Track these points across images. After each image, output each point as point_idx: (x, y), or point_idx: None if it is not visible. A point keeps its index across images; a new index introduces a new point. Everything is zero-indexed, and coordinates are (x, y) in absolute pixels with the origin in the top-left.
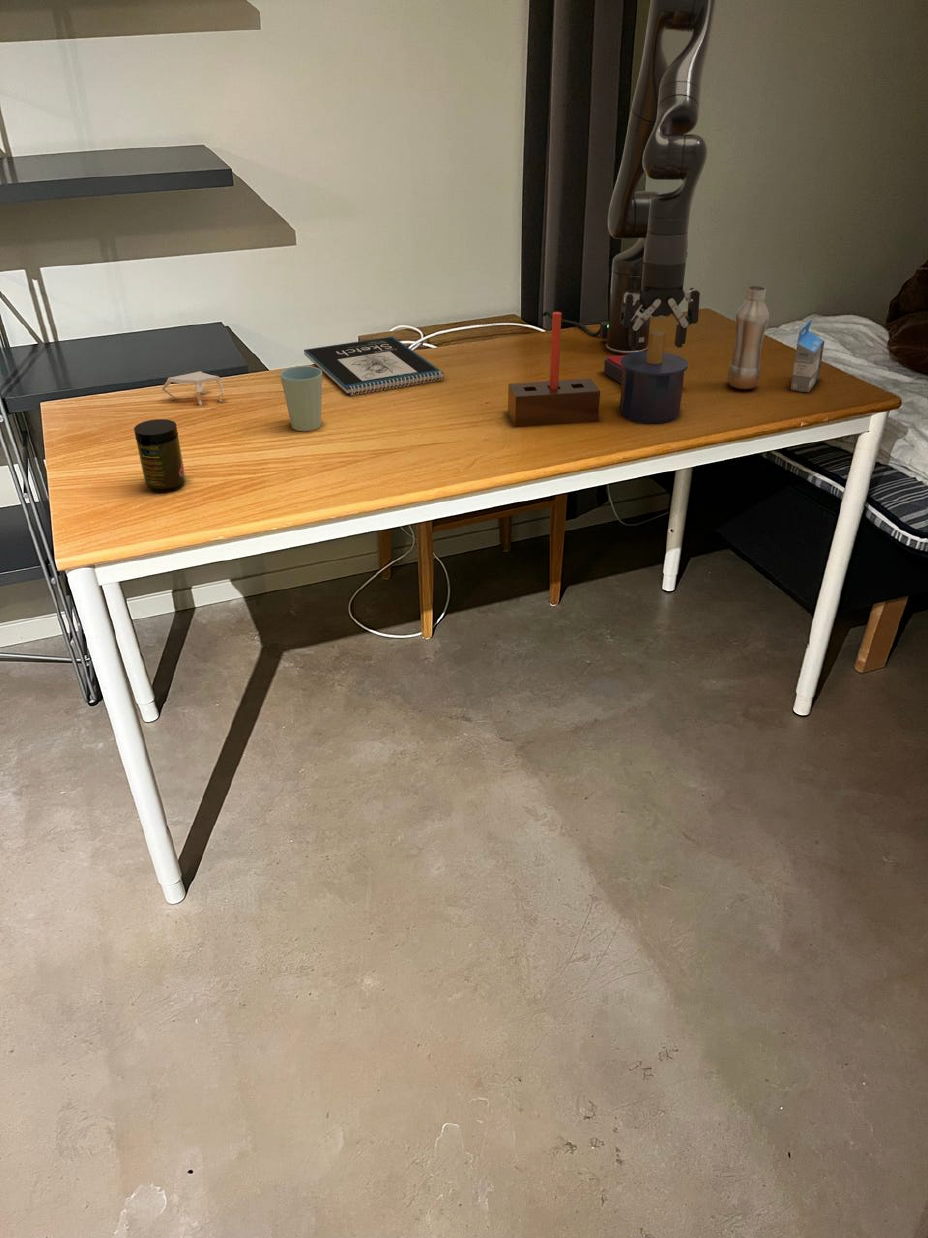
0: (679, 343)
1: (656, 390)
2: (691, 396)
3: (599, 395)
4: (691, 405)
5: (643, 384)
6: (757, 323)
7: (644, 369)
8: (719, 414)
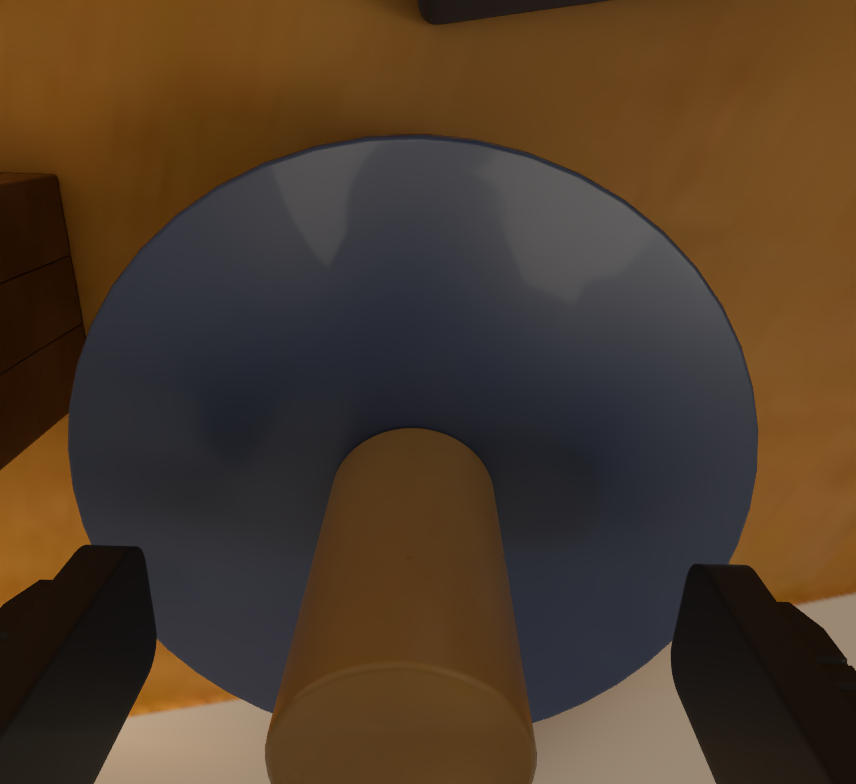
0: (692, 715)
1: None
2: (814, 112)
3: (2, 467)
4: (721, 273)
5: None
6: None
7: (257, 652)
8: (795, 433)
